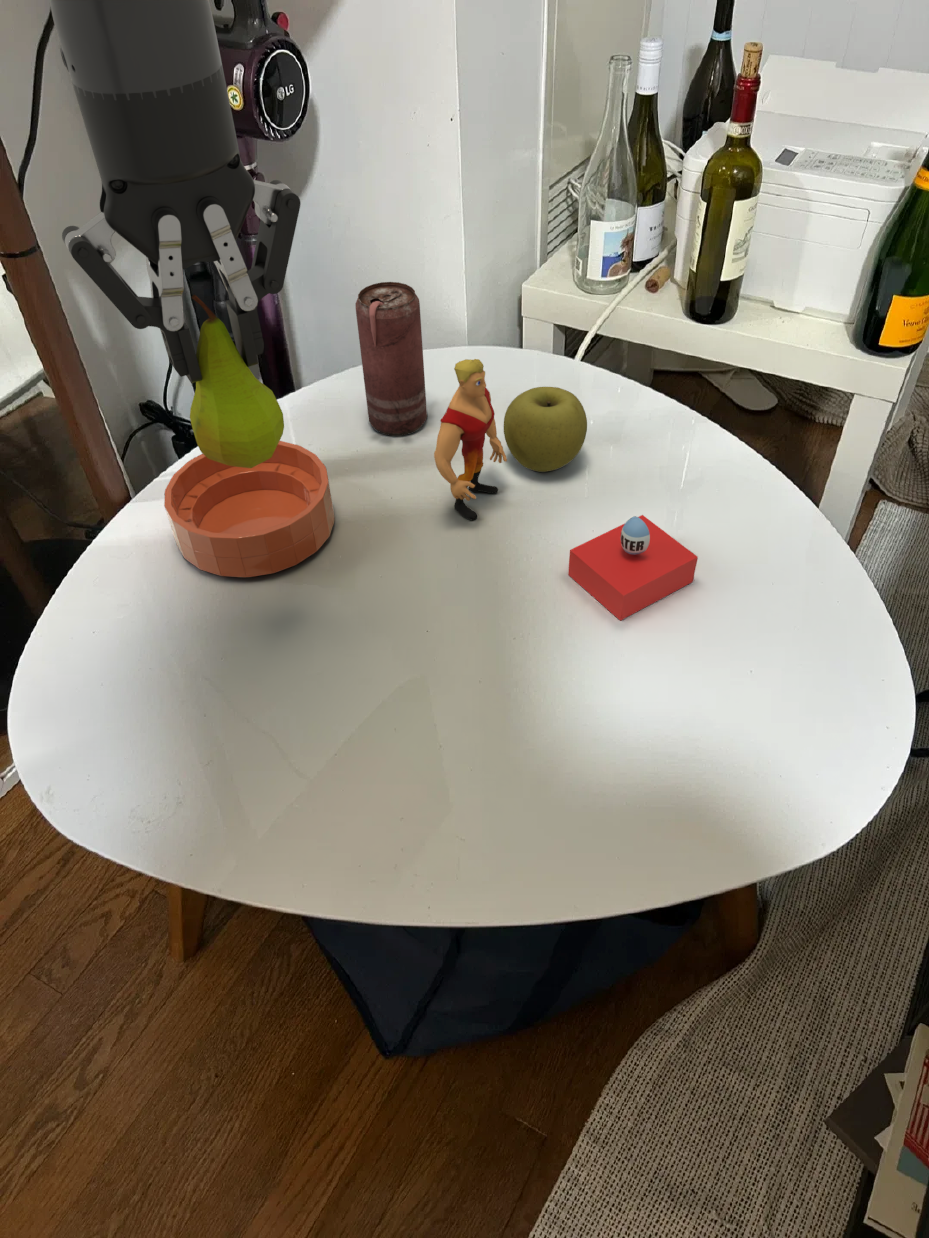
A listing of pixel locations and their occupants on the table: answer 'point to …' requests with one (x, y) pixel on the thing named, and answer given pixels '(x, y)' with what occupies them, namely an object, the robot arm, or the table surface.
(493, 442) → the action figure
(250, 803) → the table surface
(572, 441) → the apple
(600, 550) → the red rectangular block
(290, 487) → the bowl
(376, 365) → the can
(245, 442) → the fruit
